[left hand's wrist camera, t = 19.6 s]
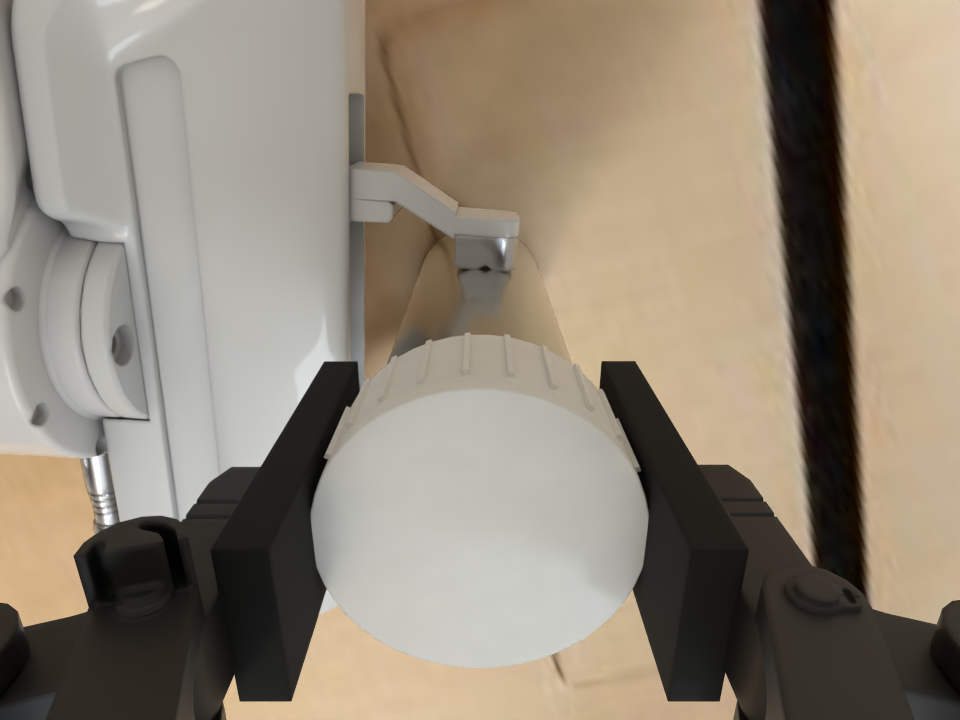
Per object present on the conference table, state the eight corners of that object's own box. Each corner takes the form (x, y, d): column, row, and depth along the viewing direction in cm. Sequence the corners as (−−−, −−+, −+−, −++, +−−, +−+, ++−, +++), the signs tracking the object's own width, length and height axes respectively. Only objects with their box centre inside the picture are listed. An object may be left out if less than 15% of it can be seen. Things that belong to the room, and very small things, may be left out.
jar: (549, 328, 26) (634, 599, 12) (435, 351, 26) (384, 641, 12) (527, 212, 24) (596, 365, 10) (406, 239, 25) (305, 423, 10)
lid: (275, 428, 12) (230, 500, 10) (526, 270, 11) (538, 311, 9) (442, 618, 14) (434, 715, 12) (673, 499, 13) (714, 582, 11)
